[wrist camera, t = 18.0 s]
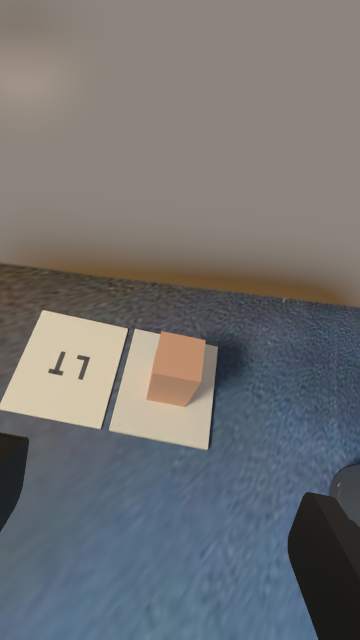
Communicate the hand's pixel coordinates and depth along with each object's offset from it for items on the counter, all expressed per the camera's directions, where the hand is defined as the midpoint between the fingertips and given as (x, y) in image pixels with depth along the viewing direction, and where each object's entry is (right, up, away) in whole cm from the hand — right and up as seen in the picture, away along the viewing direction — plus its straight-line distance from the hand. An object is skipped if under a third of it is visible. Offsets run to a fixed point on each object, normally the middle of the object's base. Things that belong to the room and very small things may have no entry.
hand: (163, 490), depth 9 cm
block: (-1, -4, +33) cm, 33 cm away
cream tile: (-14, -1, +33) cm, 36 cm away
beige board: (-1, -4, +34) cm, 34 cm away
